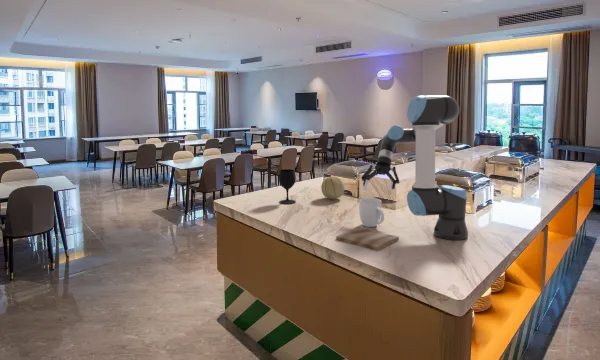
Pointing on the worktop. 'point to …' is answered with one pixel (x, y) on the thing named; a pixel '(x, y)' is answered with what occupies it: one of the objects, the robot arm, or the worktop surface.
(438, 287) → the worktop surface
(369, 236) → the serving board
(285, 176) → the wine glass
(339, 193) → the cantaloupe
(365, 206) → the mug
